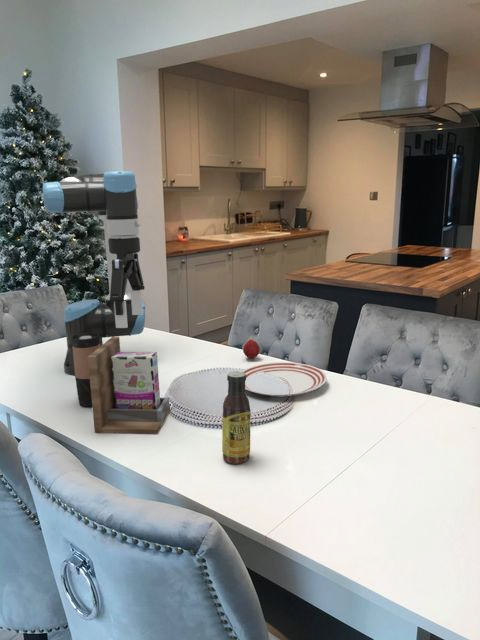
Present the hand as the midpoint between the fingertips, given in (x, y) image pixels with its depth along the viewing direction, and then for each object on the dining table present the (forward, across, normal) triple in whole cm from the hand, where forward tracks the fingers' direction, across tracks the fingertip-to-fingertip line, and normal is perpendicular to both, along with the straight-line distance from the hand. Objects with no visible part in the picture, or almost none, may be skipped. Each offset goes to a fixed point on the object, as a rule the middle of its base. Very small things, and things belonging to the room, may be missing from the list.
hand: (130, 320), depth 134 cm
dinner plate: (+27, +26, -38) cm, 53 cm away
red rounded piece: (+27, +50, -27) cm, 63 cm away
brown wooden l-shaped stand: (+27, 0, 0) cm, 27 cm away
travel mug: (+27, +10, +16) cm, 33 cm away
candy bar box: (+26, +1, 0) cm, 26 cm away
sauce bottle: (+27, -20, -29) cm, 44 cm away
